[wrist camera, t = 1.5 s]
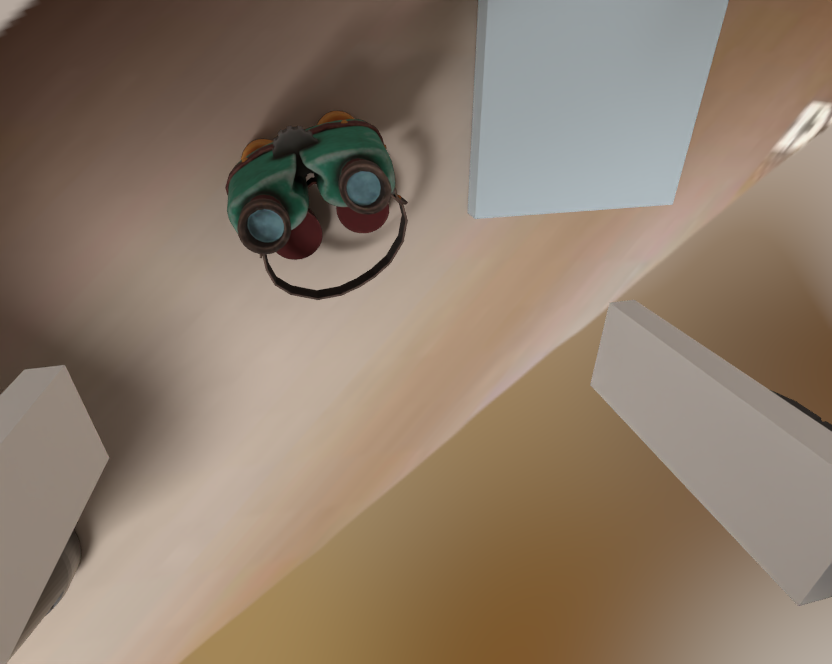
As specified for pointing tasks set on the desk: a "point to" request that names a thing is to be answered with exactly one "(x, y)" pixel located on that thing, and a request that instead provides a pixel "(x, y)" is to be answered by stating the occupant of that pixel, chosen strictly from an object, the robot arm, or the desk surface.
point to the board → (585, 102)
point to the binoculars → (288, 192)
